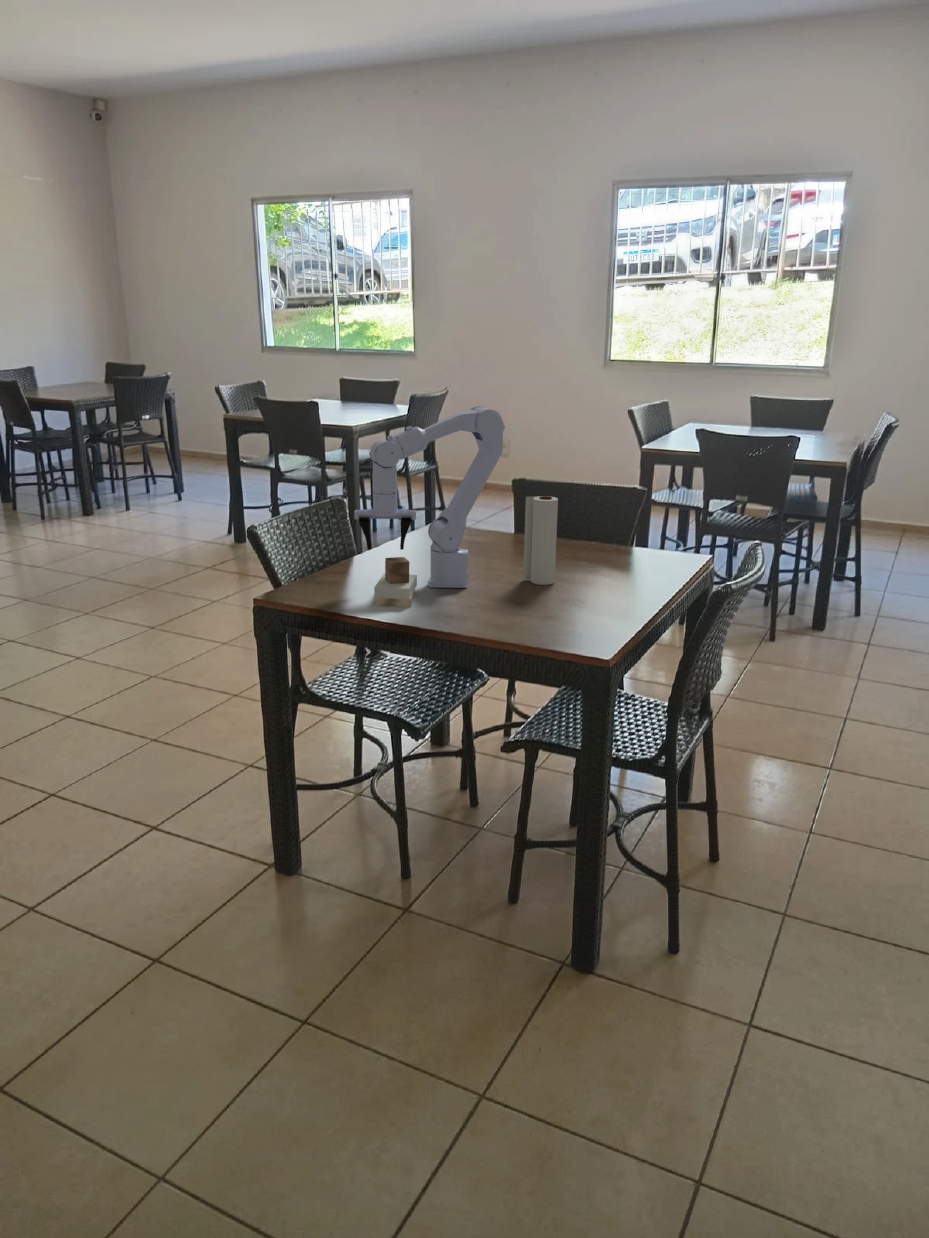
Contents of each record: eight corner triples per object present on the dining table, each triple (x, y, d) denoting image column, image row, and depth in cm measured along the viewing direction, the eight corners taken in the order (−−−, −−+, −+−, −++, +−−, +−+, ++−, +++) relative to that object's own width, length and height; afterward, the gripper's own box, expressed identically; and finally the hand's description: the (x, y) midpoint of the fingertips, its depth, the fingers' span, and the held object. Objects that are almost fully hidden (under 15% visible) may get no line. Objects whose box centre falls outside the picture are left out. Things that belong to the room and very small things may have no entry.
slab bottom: (414, 594, 222) (414, 584, 221) (411, 609, 210) (411, 598, 209) (381, 593, 222) (381, 583, 221) (376, 608, 210) (376, 598, 210)
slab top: (416, 585, 220) (416, 574, 220) (409, 599, 209) (409, 588, 208) (383, 583, 221) (383, 573, 220) (374, 597, 210) (374, 587, 209)
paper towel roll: (559, 583, 229) (563, 498, 223) (539, 586, 226) (542, 500, 220) (542, 576, 235) (545, 493, 229) (523, 580, 232) (525, 495, 226)
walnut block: (403, 577, 217) (403, 556, 216) (409, 582, 213) (409, 561, 212) (385, 578, 216) (385, 557, 214) (390, 583, 212) (390, 562, 210)
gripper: (416, 489, 220) (416, 544, 225) (355, 489, 220) (357, 544, 224) (415, 494, 214) (415, 551, 218) (352, 494, 213) (354, 551, 218)
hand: (385, 548), depth 221 cm, fingers open, 7 cm apart
